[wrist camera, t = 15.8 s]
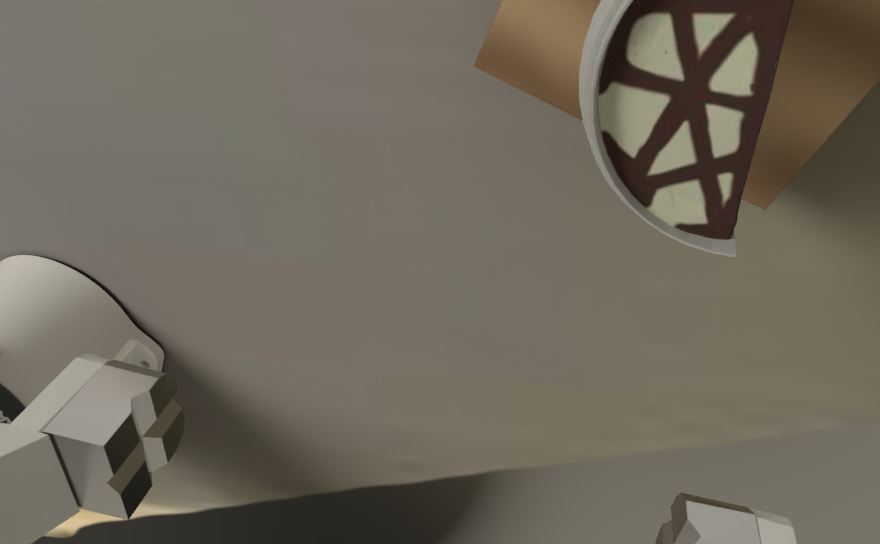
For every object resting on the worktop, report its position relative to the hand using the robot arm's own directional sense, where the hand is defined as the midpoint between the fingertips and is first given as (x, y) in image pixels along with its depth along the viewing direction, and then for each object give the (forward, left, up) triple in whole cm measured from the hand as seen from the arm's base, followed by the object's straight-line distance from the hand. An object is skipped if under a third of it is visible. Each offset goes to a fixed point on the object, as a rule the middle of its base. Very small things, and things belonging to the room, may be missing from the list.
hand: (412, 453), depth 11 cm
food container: (+2, -4, -25) cm, 25 cm away
